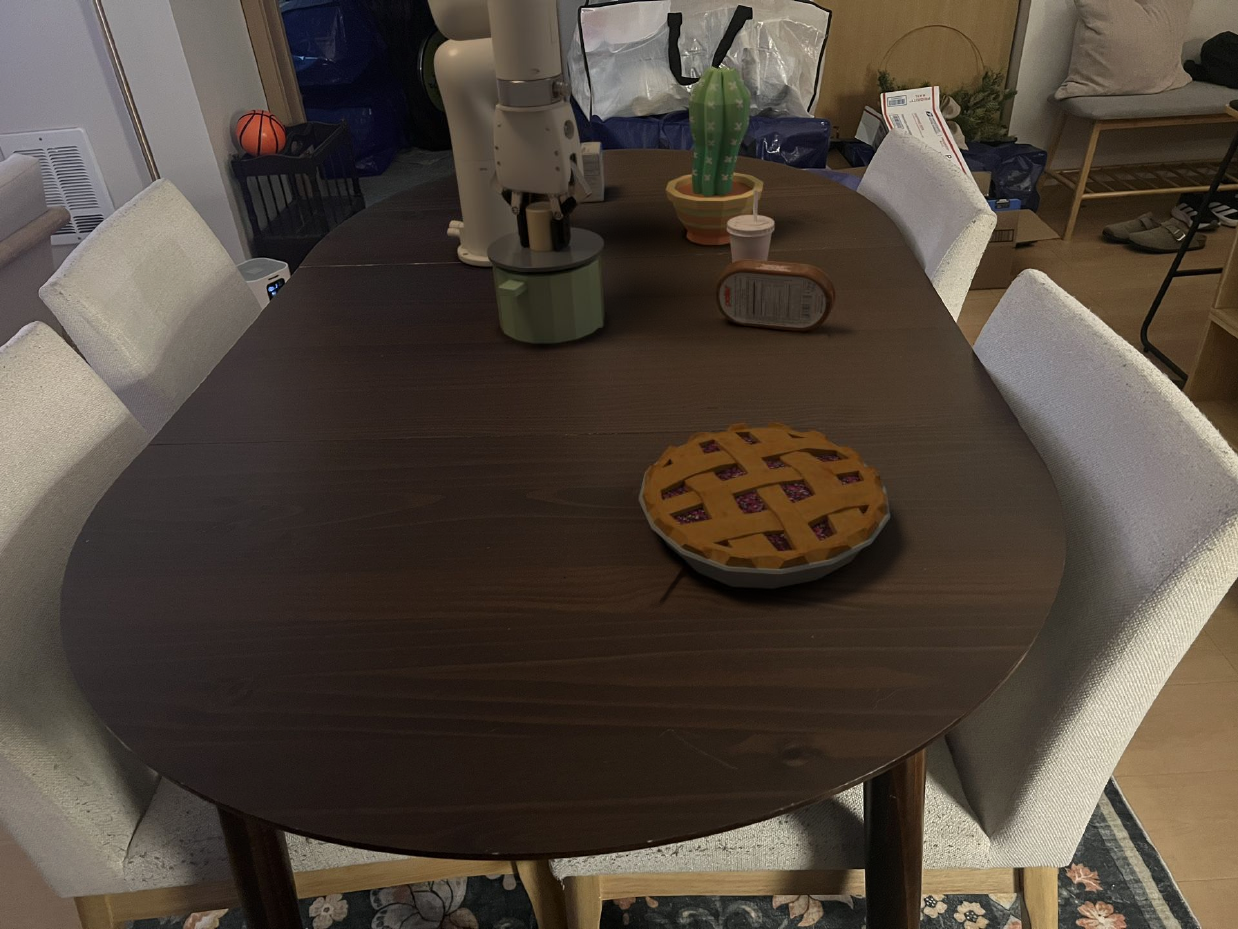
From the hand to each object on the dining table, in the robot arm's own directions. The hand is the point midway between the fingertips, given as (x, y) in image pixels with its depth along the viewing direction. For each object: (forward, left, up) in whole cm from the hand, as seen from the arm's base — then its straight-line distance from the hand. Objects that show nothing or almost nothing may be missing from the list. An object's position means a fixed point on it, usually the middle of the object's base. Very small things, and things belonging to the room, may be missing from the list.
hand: (545, 243), depth 116 cm
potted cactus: (+7, +39, -11) cm, 41 cm away
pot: (0, 0, -11) cm, 11 cm away
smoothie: (+20, +20, -11) cm, 30 cm away
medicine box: (-22, +51, -11) cm, 57 cm away
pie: (+40, -30, -11) cm, 51 cm away
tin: (+27, +10, -11) cm, 31 cm away
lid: (0, 0, -1) cm, 1 cm away
